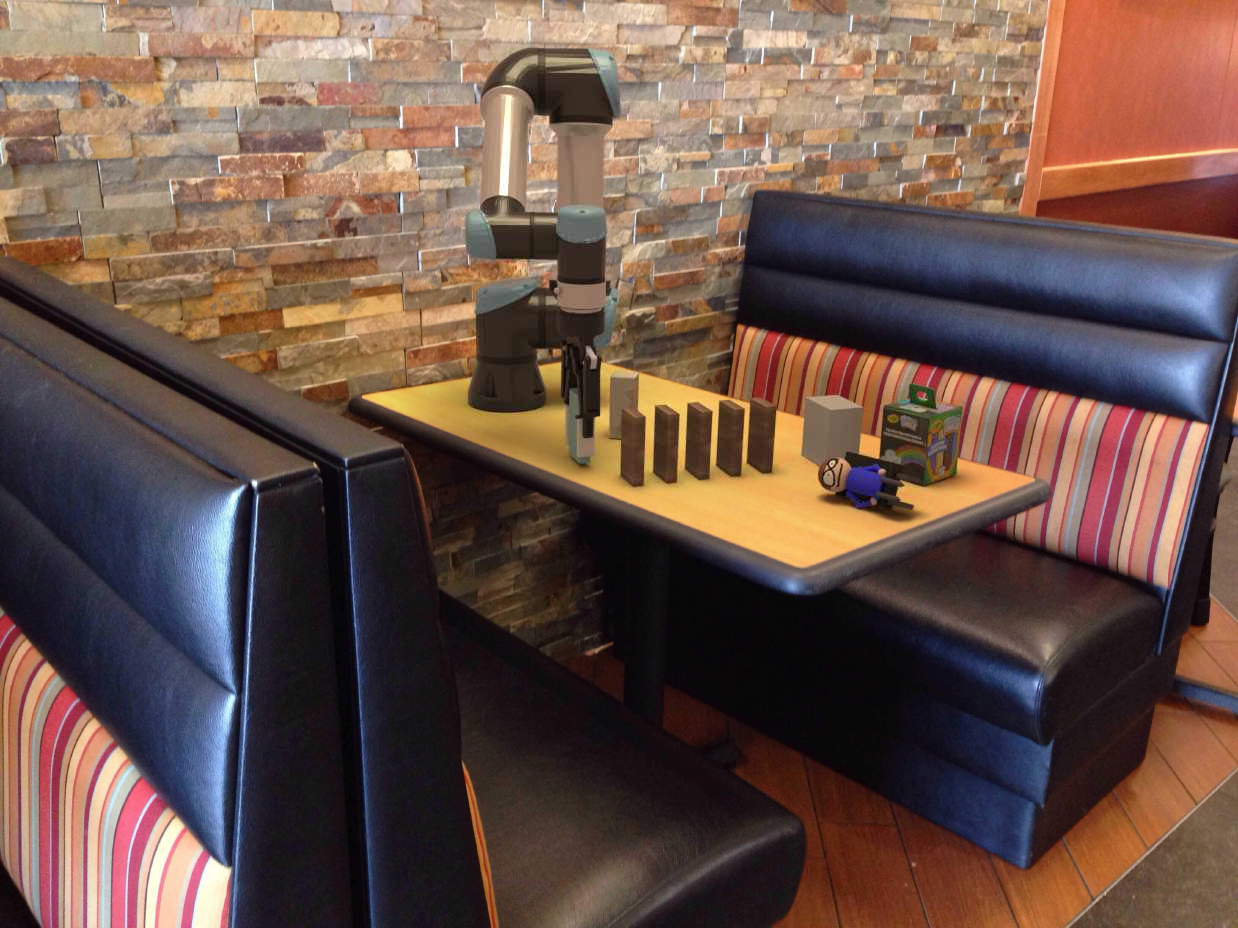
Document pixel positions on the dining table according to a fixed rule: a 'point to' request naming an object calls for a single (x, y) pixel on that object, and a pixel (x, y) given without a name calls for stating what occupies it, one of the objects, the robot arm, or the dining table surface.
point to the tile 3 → (698, 440)
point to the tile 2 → (666, 443)
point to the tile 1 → (632, 446)
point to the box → (622, 398)
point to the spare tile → (574, 426)
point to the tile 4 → (730, 437)
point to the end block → (830, 428)
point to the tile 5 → (761, 435)
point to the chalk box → (922, 435)
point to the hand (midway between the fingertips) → (579, 449)
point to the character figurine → (865, 480)
